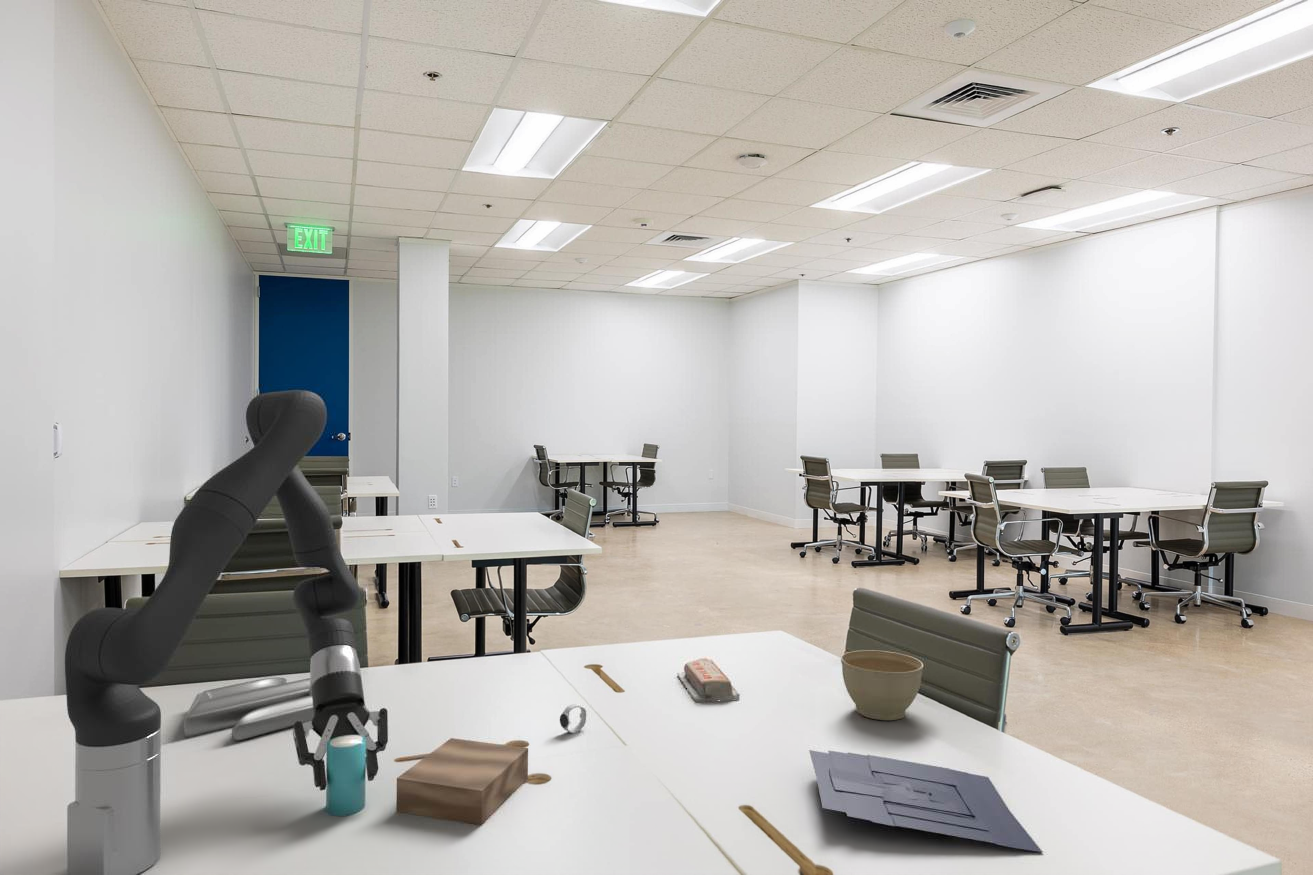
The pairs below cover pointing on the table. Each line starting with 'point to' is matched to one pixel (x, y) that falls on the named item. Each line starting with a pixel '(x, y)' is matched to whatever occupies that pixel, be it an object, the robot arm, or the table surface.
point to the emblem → (250, 708)
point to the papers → (917, 797)
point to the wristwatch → (565, 720)
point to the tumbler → (345, 774)
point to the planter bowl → (881, 682)
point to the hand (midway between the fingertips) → (347, 782)
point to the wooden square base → (462, 781)
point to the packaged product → (707, 681)
